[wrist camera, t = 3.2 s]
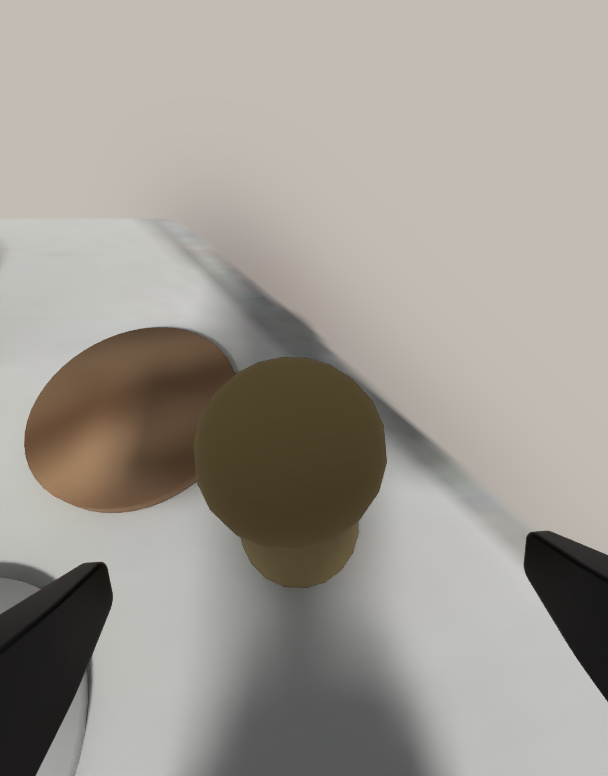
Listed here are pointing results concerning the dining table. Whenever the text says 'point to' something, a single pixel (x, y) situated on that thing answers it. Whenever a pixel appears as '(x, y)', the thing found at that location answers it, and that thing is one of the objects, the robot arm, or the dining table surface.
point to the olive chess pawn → (291, 465)
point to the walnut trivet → (124, 419)
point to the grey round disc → (68, 741)
